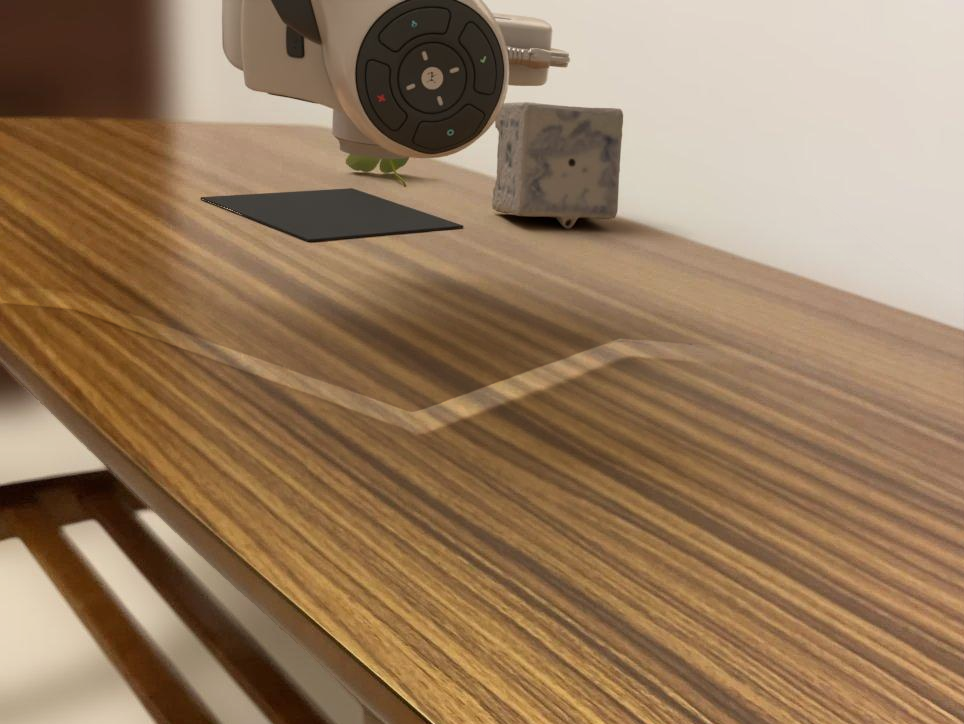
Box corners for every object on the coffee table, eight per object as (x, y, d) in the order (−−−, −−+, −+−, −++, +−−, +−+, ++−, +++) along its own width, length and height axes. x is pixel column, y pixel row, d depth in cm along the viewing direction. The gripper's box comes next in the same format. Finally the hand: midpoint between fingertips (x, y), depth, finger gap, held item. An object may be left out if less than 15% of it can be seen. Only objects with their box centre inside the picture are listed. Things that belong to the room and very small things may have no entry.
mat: (308, 242, 96) (308, 239, 96) (200, 199, 106) (200, 197, 106) (463, 227, 106) (463, 225, 106) (352, 190, 116) (352, 188, 116)
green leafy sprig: (384, 229, 125) (364, 183, 128) (451, 187, 123) (429, 142, 126) (350, 191, 118) (329, 144, 121) (420, 146, 117) (397, 99, 120)
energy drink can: (437, 157, 86) (454, -83, 79) (380, 163, 81) (393, -92, 75) (371, 142, 89) (382, -91, 82) (313, 147, 84) (319, -100, 77)
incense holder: (581, 211, 119) (594, 98, 114) (617, 231, 112) (632, 111, 107) (485, 208, 115) (495, 91, 110) (515, 229, 108) (527, 104, 104)
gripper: (583, 5, 71) (537, -8, 83) (216, -36, 66) (224, -44, 79) (570, 119, 74) (527, 90, 86) (217, 87, 69) (224, 61, 81)
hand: (380, 26), depth 82 cm, fingers closed on energy drink can, 6 cm apart
